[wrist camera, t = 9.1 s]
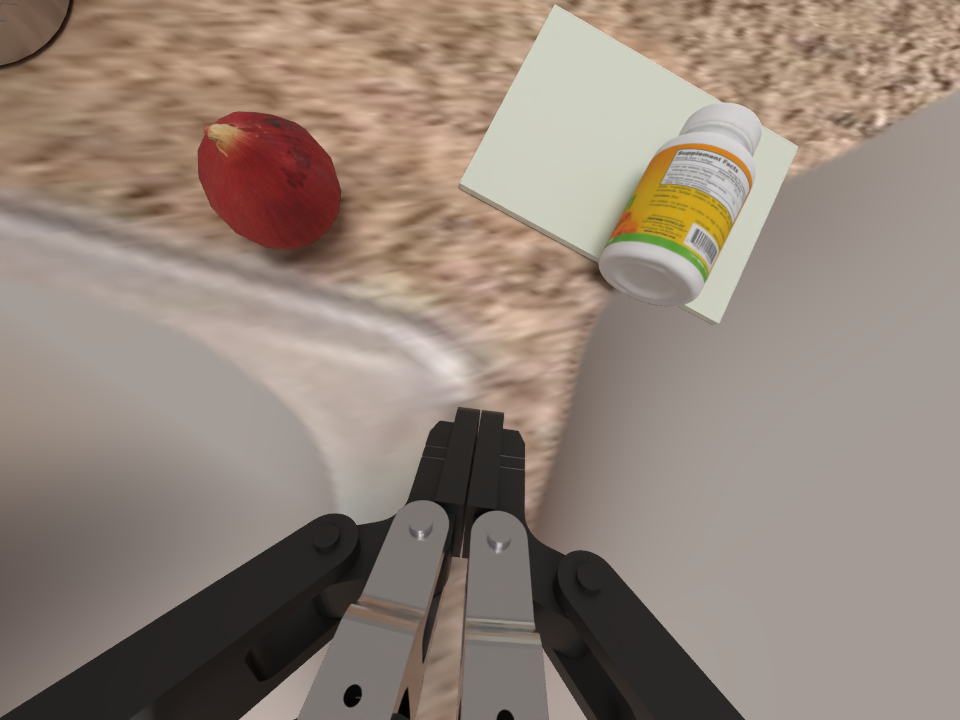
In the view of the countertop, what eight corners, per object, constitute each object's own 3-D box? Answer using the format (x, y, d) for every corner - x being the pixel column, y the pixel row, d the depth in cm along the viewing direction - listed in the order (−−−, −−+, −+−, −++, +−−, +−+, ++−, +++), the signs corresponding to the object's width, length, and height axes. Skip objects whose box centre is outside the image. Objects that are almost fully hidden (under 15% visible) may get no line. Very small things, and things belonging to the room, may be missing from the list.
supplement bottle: (596, 287, 23) (663, 160, 24) (685, 319, 21) (755, 178, 22) (594, 240, 18) (679, 82, 19) (711, 275, 16) (800, 95, 17)
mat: (459, 188, 22) (459, 182, 22) (552, 13, 24) (554, 4, 23) (712, 324, 24) (718, 323, 23) (790, 152, 25) (798, 146, 24)
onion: (307, 149, 22) (227, 18, 14) (376, 221, 22) (337, 132, 14) (230, 214, 21) (100, 117, 13) (301, 287, 21) (216, 234, 13)
